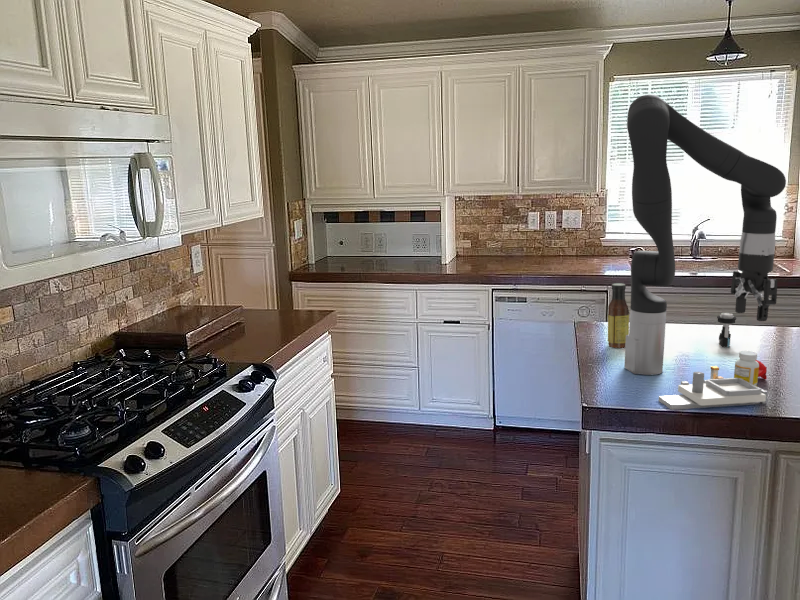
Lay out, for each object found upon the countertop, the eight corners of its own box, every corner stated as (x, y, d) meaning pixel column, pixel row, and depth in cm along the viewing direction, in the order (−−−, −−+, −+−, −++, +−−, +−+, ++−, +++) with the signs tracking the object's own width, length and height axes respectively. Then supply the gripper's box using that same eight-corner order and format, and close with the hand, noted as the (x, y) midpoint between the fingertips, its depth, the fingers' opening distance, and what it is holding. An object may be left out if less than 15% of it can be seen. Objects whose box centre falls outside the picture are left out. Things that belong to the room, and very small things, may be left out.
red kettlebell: (753, 375, 167) (772, 361, 168) (734, 361, 172) (753, 348, 173) (755, 393, 172) (773, 380, 173) (737, 380, 177) (755, 367, 177)
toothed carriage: (700, 405, 152) (702, 380, 151) (675, 389, 163) (677, 366, 162) (765, 401, 154) (767, 376, 153) (736, 385, 165) (738, 362, 164)
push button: (712, 341, 210) (714, 311, 208) (730, 342, 209) (733, 311, 207) (717, 347, 204) (719, 315, 202) (735, 348, 203) (738, 316, 201)
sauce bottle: (631, 346, 207) (635, 283, 203) (622, 350, 202) (626, 286, 198) (612, 342, 211) (614, 281, 207) (602, 346, 207) (605, 284, 203)
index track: (671, 409, 154) (672, 384, 153) (647, 393, 165) (648, 369, 164) (766, 403, 157) (768, 379, 155) (736, 387, 168) (738, 364, 167)
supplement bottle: (739, 393, 164) (742, 356, 162) (728, 386, 169) (731, 350, 167) (761, 393, 164) (764, 355, 162) (750, 385, 169) (753, 349, 167)
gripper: (724, 248, 166) (719, 311, 169) (760, 255, 152) (754, 324, 155) (753, 247, 166) (747, 309, 170) (791, 254, 153) (784, 322, 156)
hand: (750, 316), depth 162 cm, fingers open, 8 cm apart
